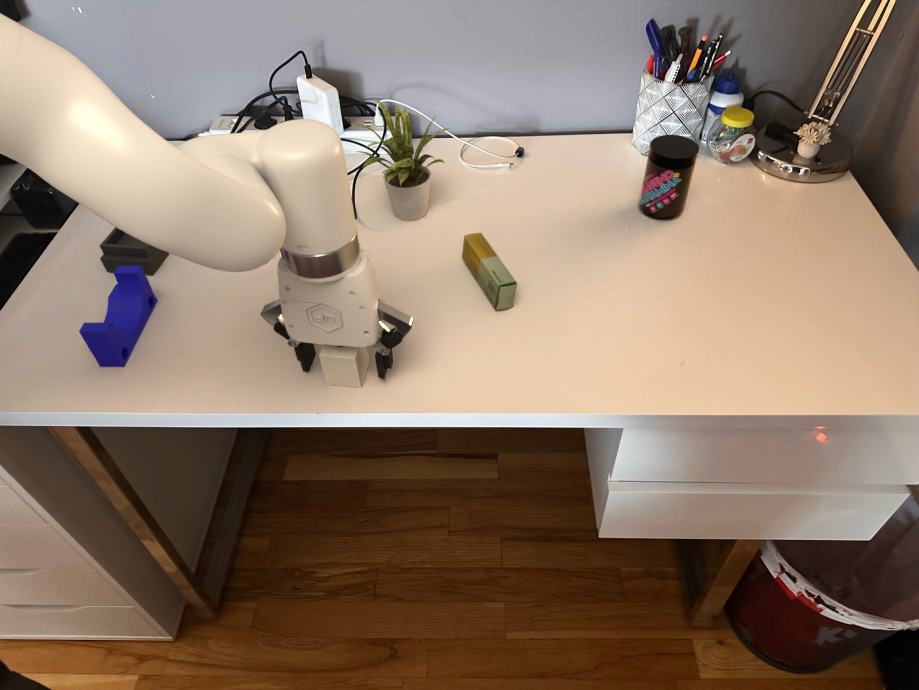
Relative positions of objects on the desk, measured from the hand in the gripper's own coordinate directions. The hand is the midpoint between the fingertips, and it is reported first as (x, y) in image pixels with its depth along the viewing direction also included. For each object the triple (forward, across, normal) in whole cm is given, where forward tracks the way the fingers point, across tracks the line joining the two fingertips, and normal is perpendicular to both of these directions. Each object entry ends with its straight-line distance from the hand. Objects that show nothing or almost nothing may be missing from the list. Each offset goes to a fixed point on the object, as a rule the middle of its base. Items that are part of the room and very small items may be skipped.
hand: (346, 366), depth 79 cm
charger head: (+1, 0, 0) cm, 1 cm away
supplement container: (+1, +38, +38) cm, 54 cm away
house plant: (+1, 0, +34) cm, 34 cm away
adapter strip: (+1, -36, +22) cm, 42 cm away
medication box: (+1, +14, +18) cm, 23 cm away
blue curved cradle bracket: (+1, -30, +3) cm, 31 cm away
